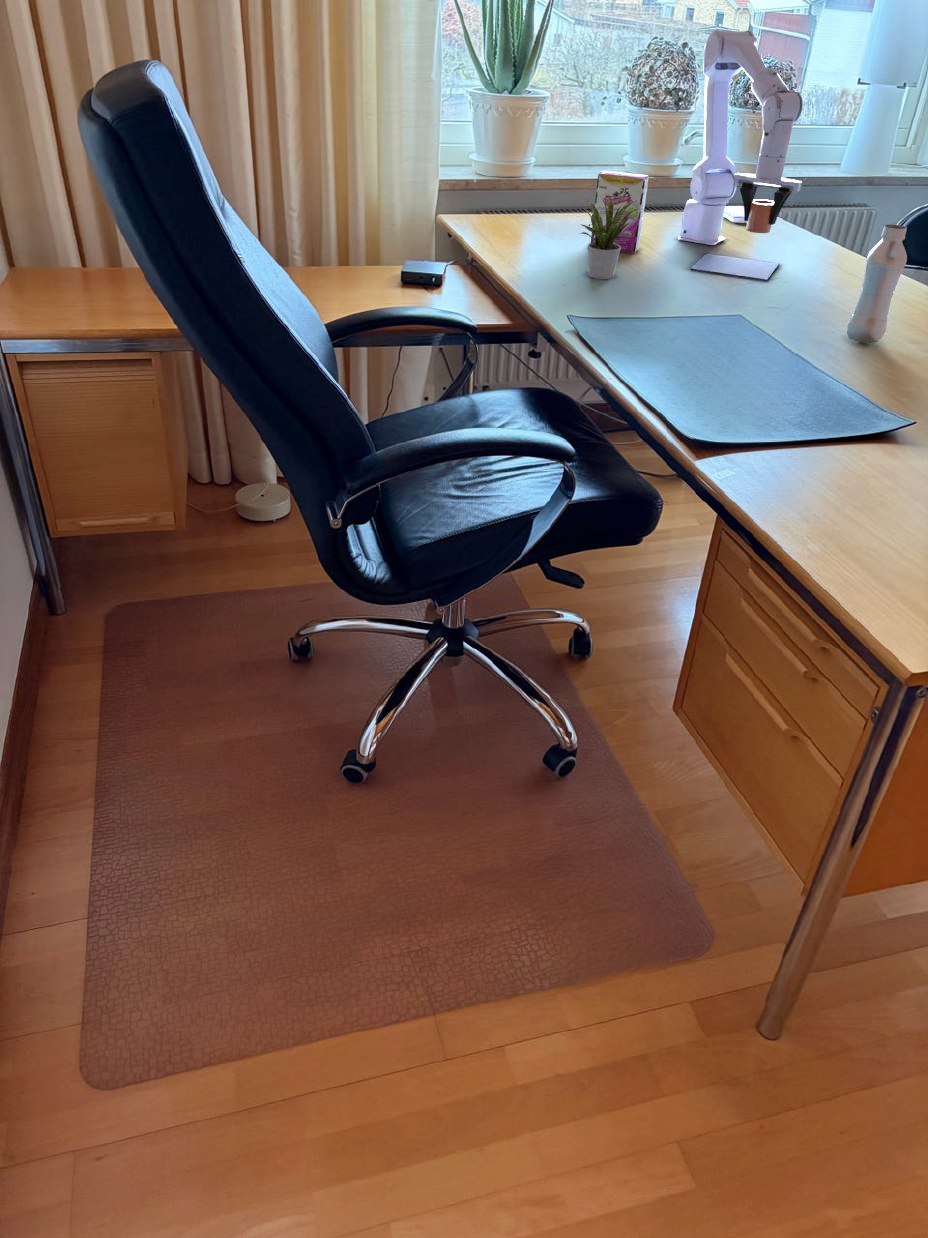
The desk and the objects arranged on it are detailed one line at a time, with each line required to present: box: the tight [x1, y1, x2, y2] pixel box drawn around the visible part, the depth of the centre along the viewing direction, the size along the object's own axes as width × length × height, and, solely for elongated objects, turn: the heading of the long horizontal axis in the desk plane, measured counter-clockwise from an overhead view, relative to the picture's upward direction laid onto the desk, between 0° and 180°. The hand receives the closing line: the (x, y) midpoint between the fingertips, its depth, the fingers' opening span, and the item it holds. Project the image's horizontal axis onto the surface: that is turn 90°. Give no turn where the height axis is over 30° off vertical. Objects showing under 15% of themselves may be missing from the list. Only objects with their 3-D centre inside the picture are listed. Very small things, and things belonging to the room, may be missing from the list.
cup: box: [745, 199, 774, 234], centre depth 206 cm, size 5×5×6 cm
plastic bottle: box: [846, 223, 908, 344], centre depth 163 cm, size 6×7×20 cm
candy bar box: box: [590, 170, 650, 254], centre depth 214 cm, size 11×5×16 cm, turn 71°
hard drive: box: [723, 205, 747, 224], centre depth 250 cm, size 2×8×12 cm
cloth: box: [690, 253, 780, 282], centre depth 208 cm, size 17×15×1 cm
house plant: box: [578, 195, 639, 280], centre depth 195 cm, size 14×14×16 cm
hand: (759, 221), depth 207 cm, fingers closed on cup, 5 cm apart
